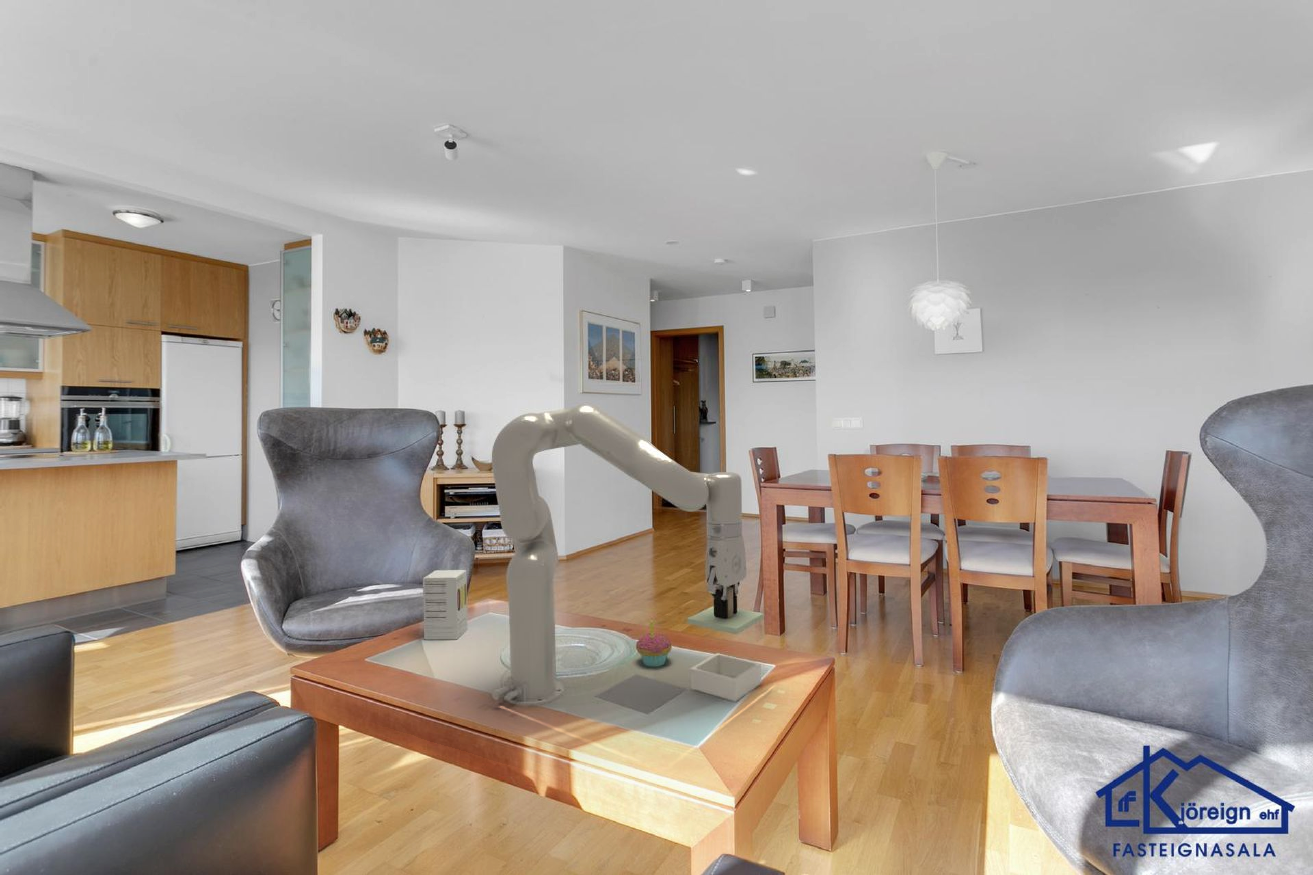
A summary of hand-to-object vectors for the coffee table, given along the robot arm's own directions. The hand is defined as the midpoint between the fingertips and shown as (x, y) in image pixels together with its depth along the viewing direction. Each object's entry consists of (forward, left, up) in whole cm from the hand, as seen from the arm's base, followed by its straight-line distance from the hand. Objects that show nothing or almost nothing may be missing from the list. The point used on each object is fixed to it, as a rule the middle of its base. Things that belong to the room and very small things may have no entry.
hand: (725, 614), depth 139 cm
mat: (-13, +13, -16) cm, 25 cm away
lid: (0, 0, -2) cm, 2 cm away
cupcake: (+2, +21, -17) cm, 27 cm away
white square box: (0, 0, -16) cm, 16 cm away
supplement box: (-13, +81, -17) cm, 84 cm away
